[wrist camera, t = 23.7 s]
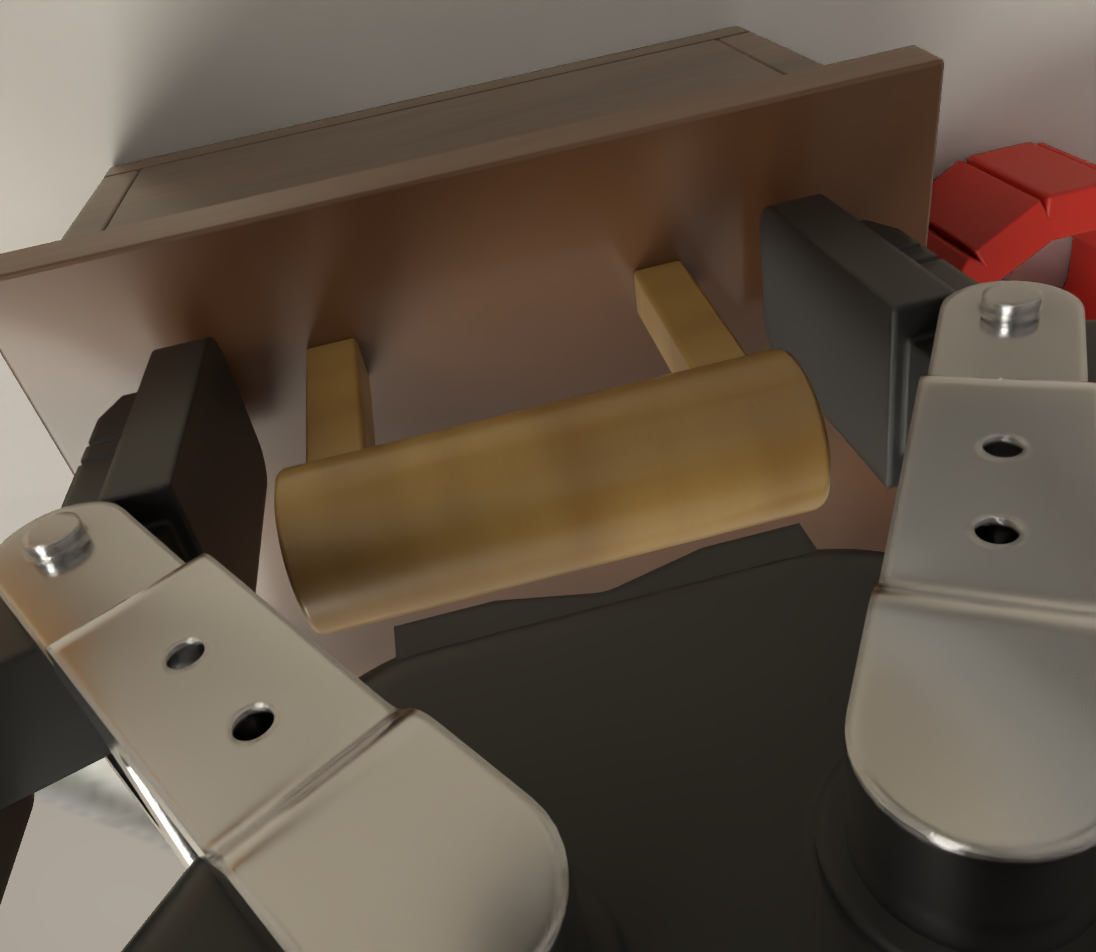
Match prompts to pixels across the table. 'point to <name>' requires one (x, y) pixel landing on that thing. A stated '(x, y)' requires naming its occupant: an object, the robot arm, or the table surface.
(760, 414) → the lid
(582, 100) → the box
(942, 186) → the ring
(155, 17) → the table surface
